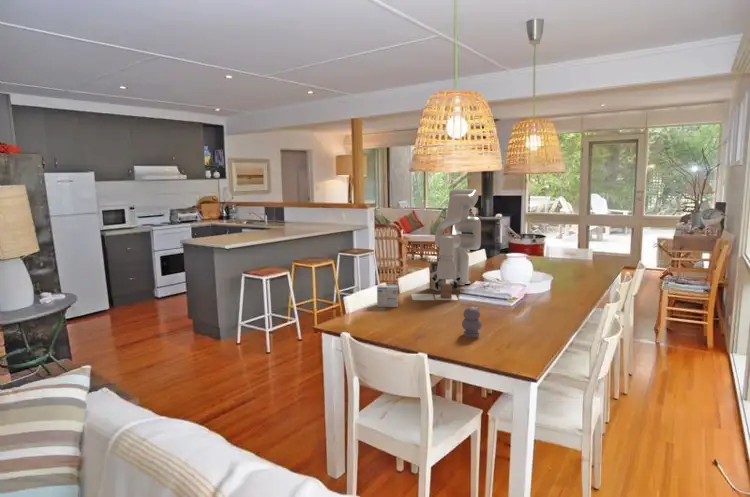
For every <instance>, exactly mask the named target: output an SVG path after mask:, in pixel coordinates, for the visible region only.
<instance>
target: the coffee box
mask: <svg viewBox="0 0 750 497" xmlns="http://www.w3.org/2000/svg"><path fill="white" fill-rule="evenodd" d="M437 266H438V261H434V262H433V261H432V262H429V289H430V290H433V291H436V292H441V284H447V283H446V282H447V279H439V280H438V289H436V288H435V281H434V280H433V279H432V277H431V275H430V274H431V273H433V272H435V271H437ZM434 278H435V279H436V278H437V274H435V275H434Z"/></svg>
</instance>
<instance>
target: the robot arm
mask: <svg viewBox="0 0 750 497" xmlns="http://www.w3.org/2000/svg"><path fill="white" fill-rule="evenodd" d="M448 196H449V199H448V206H447V211H446V217H445V218H444V219H443V220H441V222H440V223H439V224H438V226H437V228H436V230H435V236H434V244H435V247H437V248H439V256H438V255H437V256H436V259H438V261H437V262H438V266H437V271H435V272H433V273H431V274H430V273H429V276H430V275H431V277H432V279H433V280H434V281H435V288H436V289H438V280H439V279H446V280H450V283H449V284H451V285H453V284H454V285H453V289H454V290H456V289H457V288H458V286H464V285H463V284H469V283H472V282H471V281H470V280H469V266H470V265H469V263H470V262H469V258H470V257H469V254H468V252H467V251H466V250H469V251H470V250H473V251H475V250H476V251H477V250H479V249H480V248H481V244H482V222H481V219H480V217H477V216H470V215H469V213H470V212H469V211H470V210H472V209H473V208H474V207H475V205H476V204H477V202H478V200H479V192H478V191H477V189H473V188H472V189H470V188H466V189H465V188H464V189H463V188H458V189H452V190H450V191H449V192H448ZM452 226H454V229H455V231H456V232H458V233H455V234H448V233H447V234H444V233H443V232H444V231H445V229H447V228H449V227H452ZM459 232H460V233H459ZM471 233H472V234H471ZM435 274H437V278H436V279H435V278H434V275H435Z"/></svg>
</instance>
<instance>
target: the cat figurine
mask: <svg viewBox="0 0 750 497" xmlns="http://www.w3.org/2000/svg"><path fill="white" fill-rule="evenodd" d="M480 308H481V306H468V307H466V308H465V309H464V310H463V317H464V318H463V320H462V322H461V327H462V328H463V329H464V330H463V336H464V337H467V338H478V337H480V331H479V330H481V328H482V325H483V324H482V321H481V320H480V316H481V312H480Z"/></svg>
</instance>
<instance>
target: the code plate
mask: <svg viewBox="0 0 750 497" xmlns="http://www.w3.org/2000/svg"><path fill="white" fill-rule="evenodd" d="M434 299H435V301H458V300H459V299H458V297H457V295H456V294H452V298H441V294H434Z"/></svg>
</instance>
